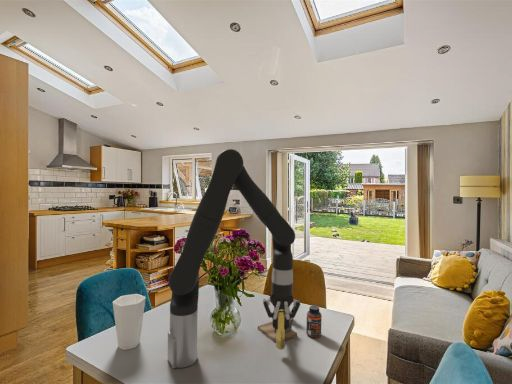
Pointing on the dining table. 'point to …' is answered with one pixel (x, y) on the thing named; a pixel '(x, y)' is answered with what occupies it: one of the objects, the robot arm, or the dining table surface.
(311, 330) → the supplement bottle
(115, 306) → the cup
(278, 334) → the lever
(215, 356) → the dining table surface
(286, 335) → the base
